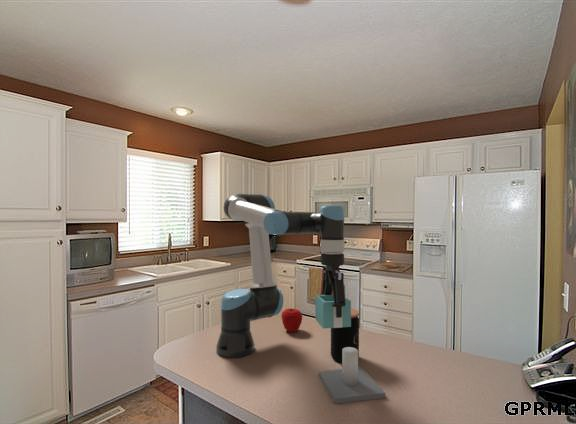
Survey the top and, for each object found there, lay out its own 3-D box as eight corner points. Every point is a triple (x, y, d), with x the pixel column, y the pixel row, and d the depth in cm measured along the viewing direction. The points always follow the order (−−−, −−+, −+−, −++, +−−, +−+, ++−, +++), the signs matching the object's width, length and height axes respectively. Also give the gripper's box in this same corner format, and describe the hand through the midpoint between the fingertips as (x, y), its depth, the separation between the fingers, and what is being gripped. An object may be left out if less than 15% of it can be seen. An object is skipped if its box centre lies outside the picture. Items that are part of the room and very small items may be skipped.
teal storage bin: (315, 319, 104) (315, 295, 105) (340, 317, 106) (340, 294, 106) (323, 328, 95) (323, 302, 96) (351, 326, 97) (350, 301, 97)
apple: (306, 330, 148) (306, 307, 148) (293, 336, 140) (293, 312, 140) (290, 325, 154) (290, 303, 154) (277, 330, 147) (277, 307, 147)
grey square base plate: (318, 375, 106) (318, 342, 106) (361, 371, 109) (362, 338, 110) (335, 403, 91) (335, 364, 91) (385, 397, 94) (385, 359, 94)
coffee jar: (359, 365, 114) (359, 316, 114) (329, 362, 116) (330, 314, 116) (358, 353, 124) (358, 308, 124) (331, 350, 126) (332, 306, 126)
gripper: (356, 256, 91) (357, 333, 91) (332, 249, 113) (332, 311, 112) (332, 256, 90) (332, 335, 89) (312, 249, 111) (312, 313, 111)
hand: (332, 322), depth 101 cm, fingers closed on teal storage bin, 9 cm apart
